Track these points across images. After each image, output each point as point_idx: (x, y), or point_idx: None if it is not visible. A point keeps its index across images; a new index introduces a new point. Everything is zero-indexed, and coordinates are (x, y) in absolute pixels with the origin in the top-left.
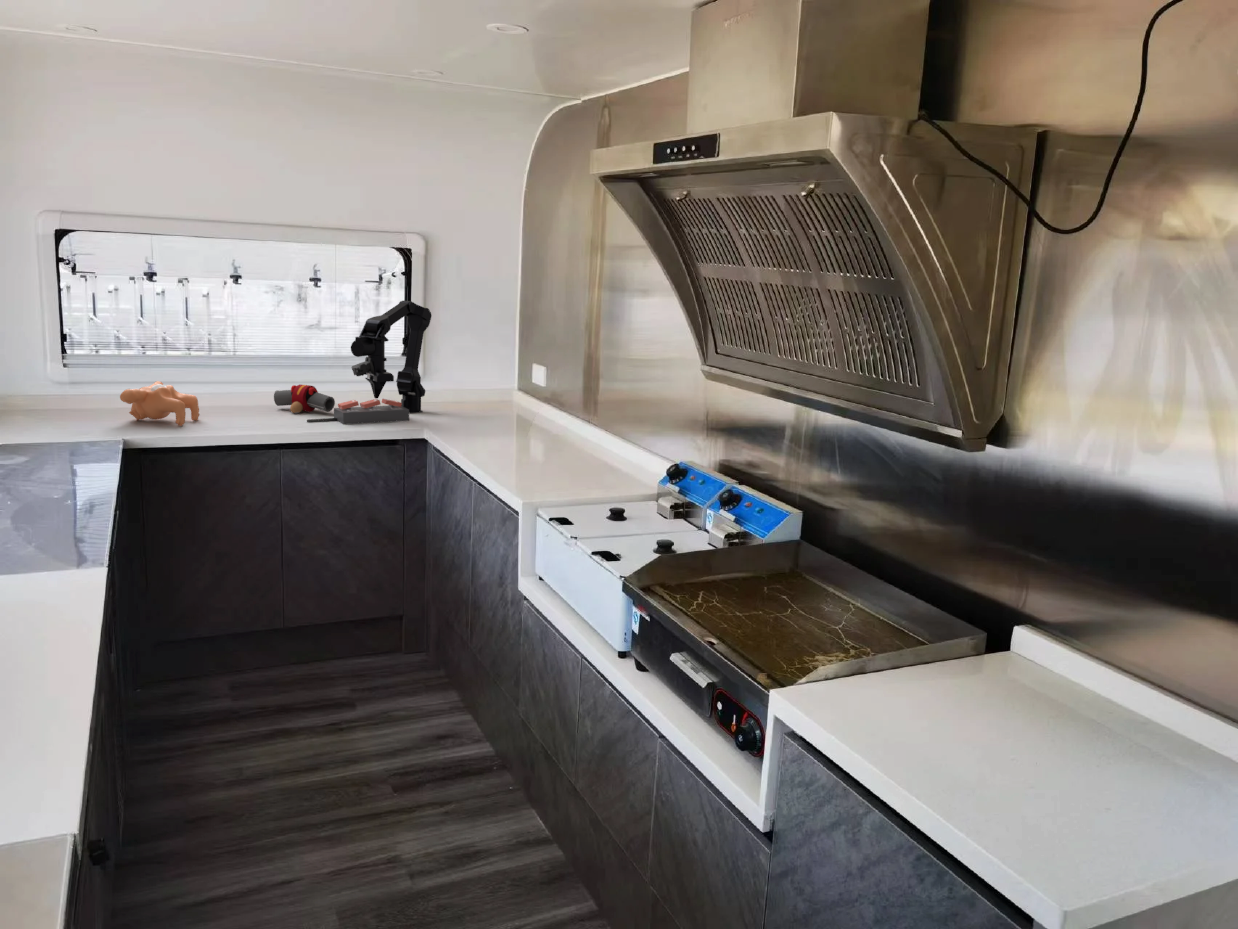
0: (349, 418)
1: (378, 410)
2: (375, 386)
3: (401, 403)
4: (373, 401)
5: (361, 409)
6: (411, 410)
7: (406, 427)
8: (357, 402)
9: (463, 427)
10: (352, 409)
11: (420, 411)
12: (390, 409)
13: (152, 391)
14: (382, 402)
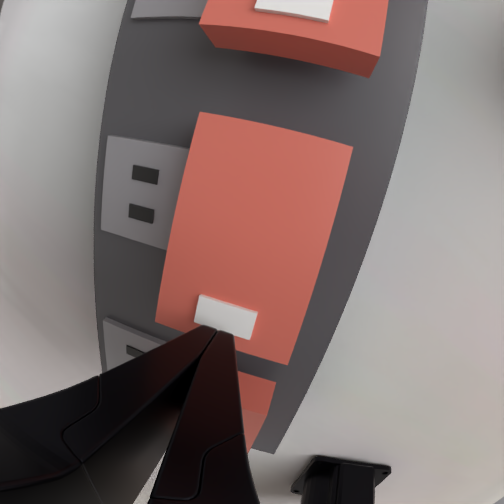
0: None
1: (104, 203)
2: (39, 414)
3: None
4: (204, 271)
5: (227, 88)
6: (313, 476)
7: (10, 226)
8: (207, 22)
9: (11, 370)
10: None
11: (293, 486)
12: (130, 319)
13: None
14: (250, 377)
